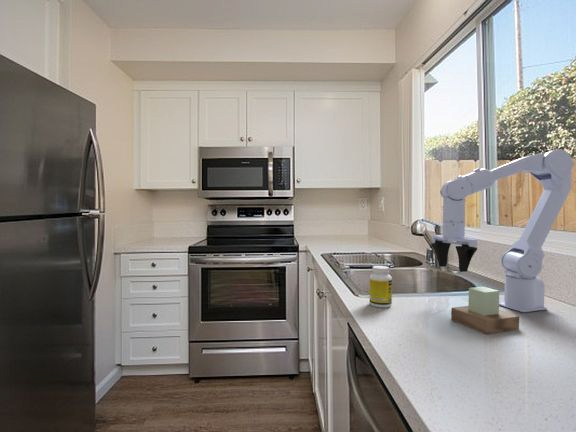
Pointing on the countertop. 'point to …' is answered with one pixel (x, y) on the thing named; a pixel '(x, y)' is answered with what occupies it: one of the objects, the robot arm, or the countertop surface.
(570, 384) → the countertop surface
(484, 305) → the sage cube
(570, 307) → the countertop surface
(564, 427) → the countertop surface
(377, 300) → the pill bottle
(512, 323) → the walnut base
